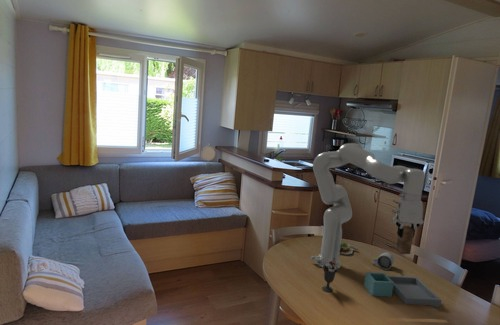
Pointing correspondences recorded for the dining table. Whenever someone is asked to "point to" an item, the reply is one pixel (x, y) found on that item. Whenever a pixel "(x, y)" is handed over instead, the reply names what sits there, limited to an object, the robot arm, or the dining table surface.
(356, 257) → the dining table surface
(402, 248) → the peg
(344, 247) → the salad plate
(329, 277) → the sundae
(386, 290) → the teal open box
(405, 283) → the tray
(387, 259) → the ceramic mug
